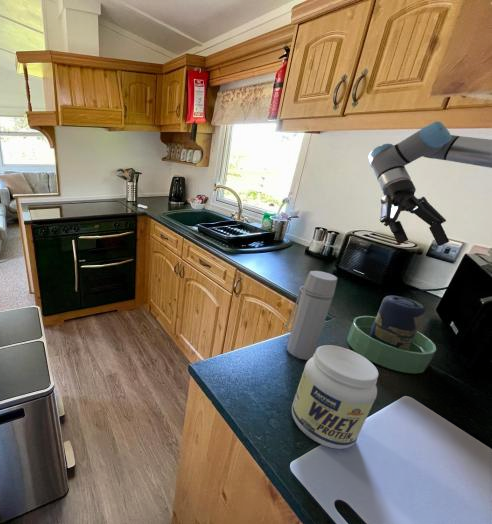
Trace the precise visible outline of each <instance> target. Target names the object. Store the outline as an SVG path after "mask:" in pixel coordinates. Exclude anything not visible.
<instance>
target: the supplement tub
mask: <svg viewBox="0 0 492 524" xmlns="http://www.w3.org/2000/svg"><path fill="white" fill-rule="evenodd" d="M378 378H379V371H378V369H377V367H376V366H375V365H374V364H373V362H372V361H370V360H368V359H366V358H365V357H363V356H362V355H360V354H359V353H357V352H356V351H355V350H352V349H348V348H345V347H343V346H339V345H332V344H325V345H320V346H318V347H316V350H315V353H314V355H313V357H312V358H310V359H308V360H306V362H305V365H304V370H303V372H302V374H301V377H300V381H299V384H298V387H297V389H296V392H295V395H294V398H293V402H292V405H291V415H292V418H293V420H294V422H295V424H296V426H297V427H298V428H299V429H300V431H301V432H302V433H303V434H305V435H306V436H307V437H308V438H309V439H311V440H313V442H316V443H318V444H320V445H322V446H324V447H327V448H330V449H336V450H337V449H338V450H343V449H344V450H345V449H348V448H351V447H352V446H353V445H354V444H355V443H356V442H357V440H358V438H359V435H360V433H361V431H362V428H363V427H364V424H365V423H366V420H367V418H368V416H369V413H370V411H371V409H372V406H373V405H374V402H375V400H376V399H377V395H378V387H377V382H378Z"/></svg>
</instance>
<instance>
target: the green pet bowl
mask: <svg viewBox="0 0 492 524" xmlns="http://www.w3.org/2000/svg"><path fill="white" fill-rule="evenodd" d="M376 317H377V316H371V315H361V316H357V317H354V318H353V321H352V323H351V326H350V328H349V332H348V334H347V337H346V341H347V344H348V345H349V347H351V349H352V350H353V351H354V352H356V353H358V354H360V355H361V356H363V357H365V358H366V359H367V360H369V361H370V362H371V363H374V364H376V365H379V366H381V367H383V368H387V369H388V370H389V369H390V370H393V371H396V372H400V373H406V374H414V375H415V374H422V373H424V372H425V371H426V370H428V368H429V366H430V364H431V361H432V359H433V357H434V355H435V354H436V352H437V345H436V344H435V343H434V342H433V341H432V340H431V339H430V338H429V337H427V336H426V335H424V334H423V333H422V332H419V331H418V330H417V332H416V334H415V336H414V338H413V340H412V343H411V345H410V347H409V349H408V351H406V350H402V349H398V348H395V347H392V346H389V345H386V344H384V343H382V342H380V341H377V340H375V339H373V338H371V337H370V336H369V335H370V332H371V329H372V326H373V323H374V321H375V319H376Z"/></svg>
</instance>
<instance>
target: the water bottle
mask: <svg viewBox="0 0 492 524" xmlns="http://www.w3.org/2000/svg"><path fill="white" fill-rule="evenodd" d="M337 283H338V277H337V276H336V275H334V274H332V273H329V272H325V271H320V270H310V271H309V273H308V275H307V277H306V279H305V282H304V284H303V285H300V287H299V294H298V297H297V299H296V301H295V304H294V305H293V308H292V310H291V313H290V315H289V317H288V319H287V322H286V325H285V327H286V328H285V329H286V332H288V333H290V334H289V337H288V341H287V345H286V349H287V351H288V353H289V354H290V355H291V356H292V357H294V358H296V359H299V360H304V361H308V360H309V359H310V358H312V357H313V355H314V354H315V352H316V350H317V348H318V347H317V346H318V343H319V340H320V338H321V334H322V331H323V328H324V326H325V322H326V319H327V316H328V313H329V310H330V308H331V304H332V300H333V297H335V292H336V287H337ZM294 311H295V313H294ZM293 314H294V316H293ZM292 316H293V321H292V324H291V329H289V325H290V321H291V319H292Z"/></svg>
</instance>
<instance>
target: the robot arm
mask: <svg viewBox="0 0 492 524" xmlns="http://www.w3.org/2000/svg"><path fill="white" fill-rule="evenodd" d="M421 158H427V159H432V160H433V159H434V160H441V161H446V162H447V161H448V162H453V163H454V162H455V163H460V164H466V165H472V166H477V167H484V168H489V169H492V139H489V138H481V137H480V138H479V137H471V136H461V135H456V134H455V135H454V134H451V133H450V131H449V130H448V128H447V127H446V126H445V125H444V124H443V123H442V122H441V121H438V120H437V121H434V122H431V123H430V124H428V125H426V126H424V127H422V128H420V130H418V131H416V132H414V133H413V134H411V135H410V136H408V137H406V138H405V139H403V140H401V141H400V142H398V143H395V144H393V143H383V144H382V145H378V146H376V147H375V148H373V149H372V150H371V151H370V153H369V154H368V160H369V163H370V168H371V169H372V171H373V173H374V175H375V177H376V179H377V182H378V184H379V186H380V188H381V189H380V190H381V191H382V194H383V197H381V199H380V204H381V208H380V216H379V222H380V223H381V224H383V225H384V227H389V229H390V233H392V235H393V237H394V239H395V241H396V244H397V245H401V244H403V243H406V242H407V241H409V238H408V236H407V233H406V232H405V231H406V230H405V229H404V227H403V224H402V222H401V221H400V220H398V218H399V216H400V214H401V212H409V213H410V214H413V215H415V216H417V217H418V218H419V219H421V220H422V221H423V222H424V223H426V224H427V225H429V227H428V229H429V231H430V233H431V234H432V237H433V239H434V241H435V244H436V245H437V246H438V247H441V246H443V245H445V244H448V243H450V240H449V237H448V236H447V234H446V231H445V230H444V228H443V225H442V224H444V223H446V222H447V220H446V218H445V217H444V216H443V215H442V214H441V213H439V211H438V210H437V209H435V208H434V207H433V206H432V204H430V202H429V201H428V200H427V198H426V197H425V196H422V197H420V198H417V197H416V196H415V193H416V190H417V188H416V187H415V185H414V182H413V181H412V180H411V179H412V178H411V176H410V174H409V172H408V170H407V168H406V167H405V166H406V165H408V164H411V163H412V162H414V161H416V160H418V159H421Z"/></svg>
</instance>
